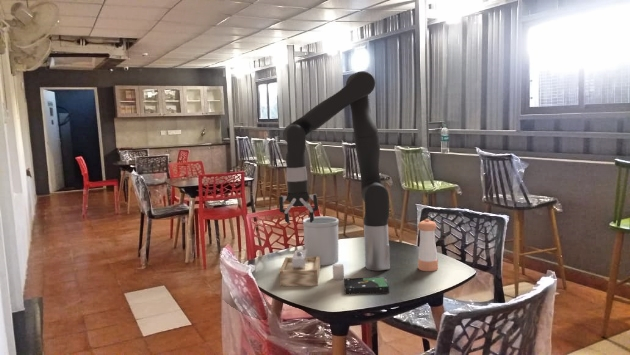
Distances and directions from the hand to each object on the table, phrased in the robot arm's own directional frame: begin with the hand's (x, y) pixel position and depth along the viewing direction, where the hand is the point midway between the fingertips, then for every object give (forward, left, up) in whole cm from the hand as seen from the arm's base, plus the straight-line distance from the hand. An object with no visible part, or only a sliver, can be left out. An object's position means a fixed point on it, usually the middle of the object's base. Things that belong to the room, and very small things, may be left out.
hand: (299, 222), depth 178 cm
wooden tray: (+1, +1, -21) cm, 21 cm away
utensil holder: (-6, -20, -21) cm, 30 cm away
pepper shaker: (-47, -6, -21) cm, 52 cm away
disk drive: (-23, +14, -22) cm, 34 cm away
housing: (+1, +1, -17) cm, 17 cm away
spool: (-13, +3, -21) cm, 25 cm away
